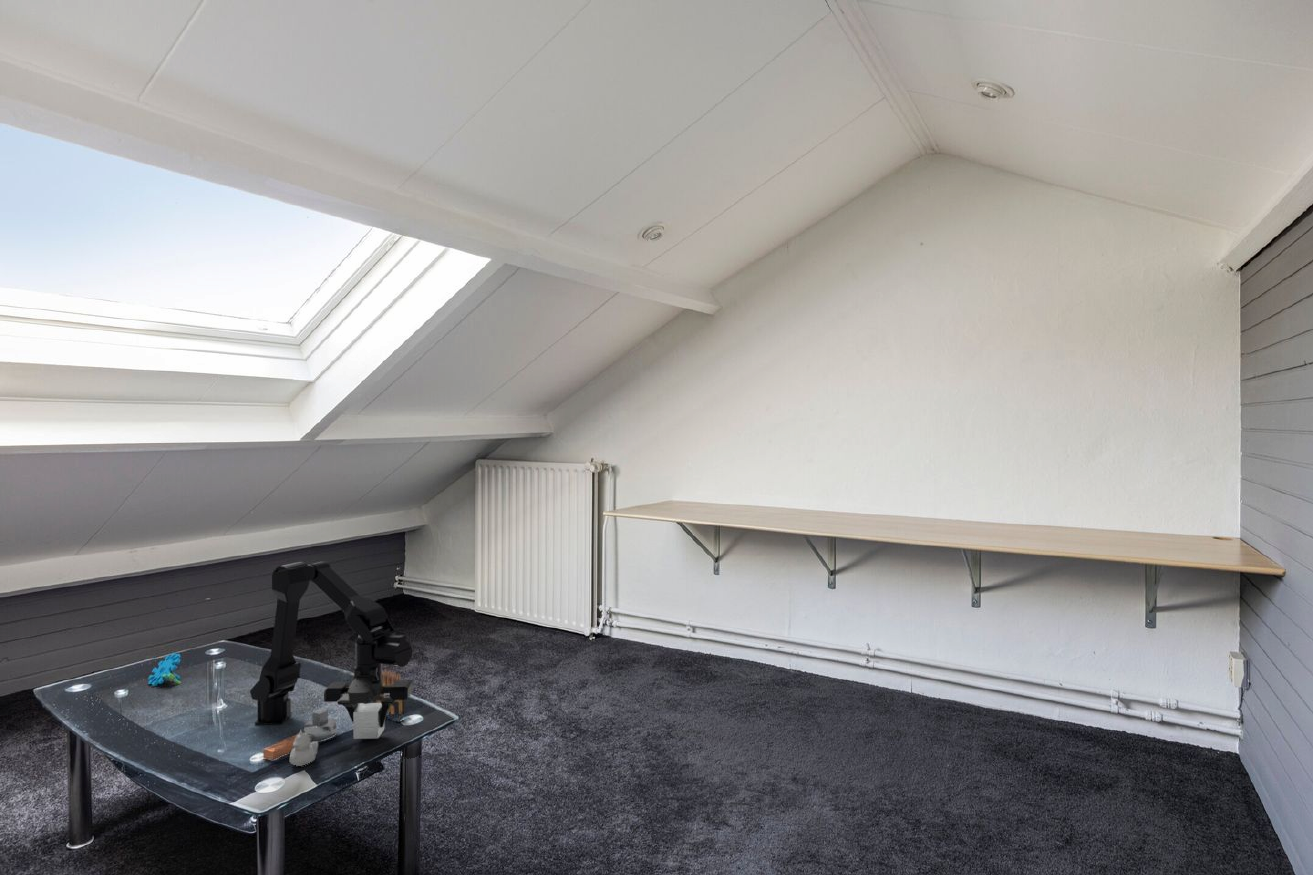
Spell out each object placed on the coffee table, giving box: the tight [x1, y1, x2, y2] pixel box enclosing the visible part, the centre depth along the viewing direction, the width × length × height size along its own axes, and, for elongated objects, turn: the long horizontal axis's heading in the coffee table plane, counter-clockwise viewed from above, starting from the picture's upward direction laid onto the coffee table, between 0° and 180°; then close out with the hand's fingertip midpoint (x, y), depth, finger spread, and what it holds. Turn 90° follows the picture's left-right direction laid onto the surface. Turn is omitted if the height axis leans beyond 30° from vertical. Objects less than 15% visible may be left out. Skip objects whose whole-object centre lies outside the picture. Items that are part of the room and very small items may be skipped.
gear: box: [147, 652, 182, 687], centre depth 219 cm, size 11×6×10 cm
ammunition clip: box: [371, 668, 405, 715], centre depth 194 cm, size 11×2×12 cm, turn 55°
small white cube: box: [352, 702, 386, 740], centre depth 180 cm, size 6×6×6 cm
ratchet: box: [262, 708, 337, 760], centre depth 178 cm, size 18×7×6 cm, turn 155°
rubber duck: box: [289, 728, 319, 767], centre depth 168 cm, size 5×7×8 cm
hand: (369, 727), depth 180 cm, fingers closed on small white cube, 5 cm apart
